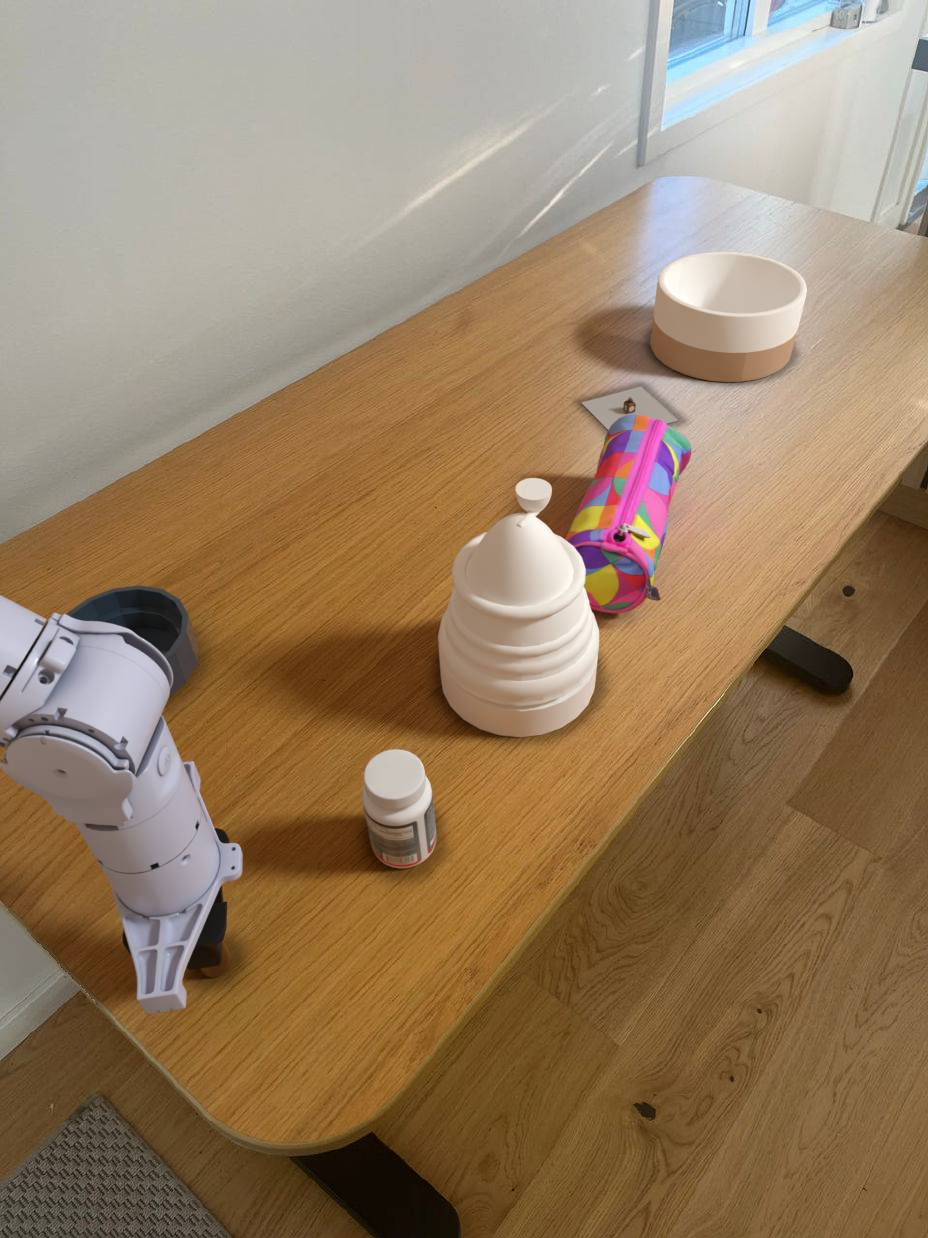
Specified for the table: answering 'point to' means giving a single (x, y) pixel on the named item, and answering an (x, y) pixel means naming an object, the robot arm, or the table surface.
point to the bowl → (726, 315)
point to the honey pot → (519, 626)
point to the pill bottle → (399, 809)
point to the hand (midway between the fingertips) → (205, 943)
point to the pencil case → (628, 512)
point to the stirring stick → (220, 969)
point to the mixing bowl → (148, 623)
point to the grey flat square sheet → (627, 407)
